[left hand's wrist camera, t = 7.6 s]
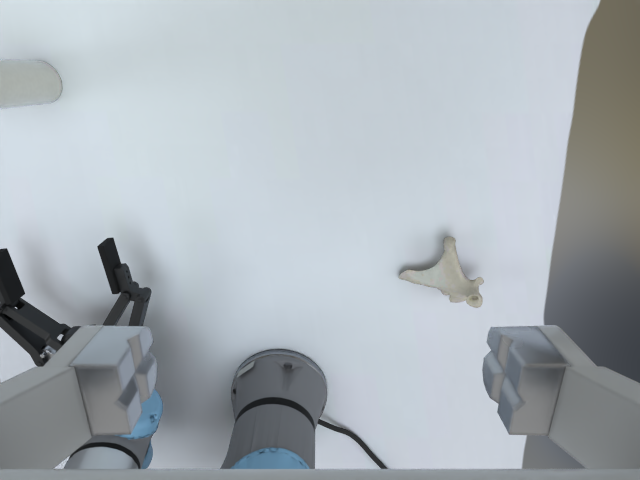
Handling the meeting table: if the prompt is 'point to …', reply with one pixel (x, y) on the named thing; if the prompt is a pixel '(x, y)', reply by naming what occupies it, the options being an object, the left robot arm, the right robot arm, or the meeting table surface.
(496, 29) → the meeting table surface
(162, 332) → the meeting table surface
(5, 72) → the jar
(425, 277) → the bone
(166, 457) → the meeting table surface
